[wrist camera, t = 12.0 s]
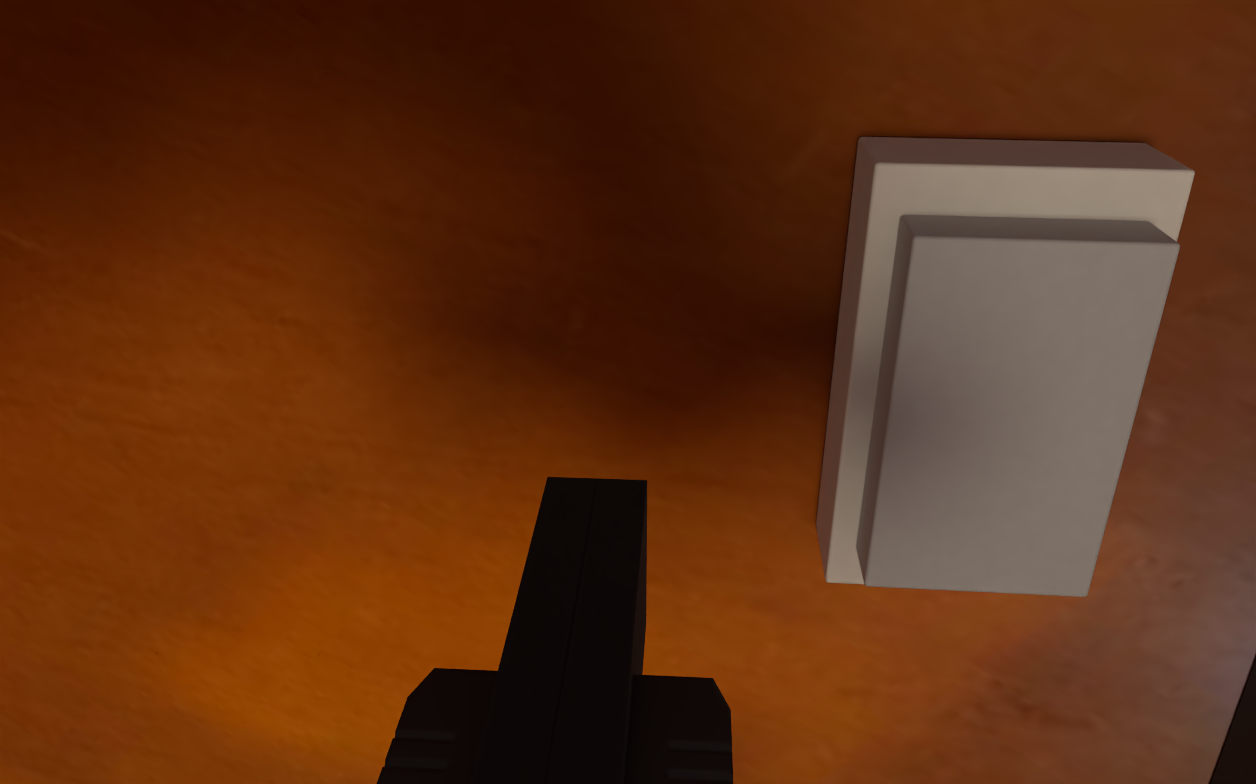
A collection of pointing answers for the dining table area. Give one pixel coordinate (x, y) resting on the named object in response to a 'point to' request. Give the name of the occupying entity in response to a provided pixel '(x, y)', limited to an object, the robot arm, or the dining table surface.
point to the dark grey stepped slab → (1240, 742)
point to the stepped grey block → (991, 357)
